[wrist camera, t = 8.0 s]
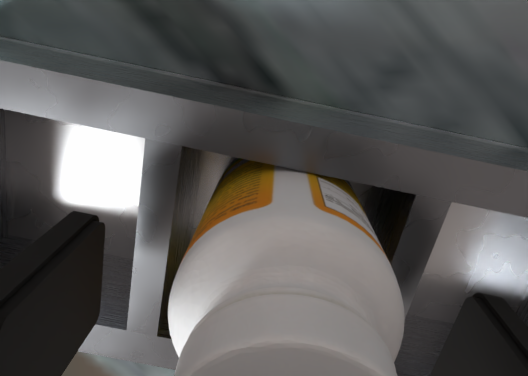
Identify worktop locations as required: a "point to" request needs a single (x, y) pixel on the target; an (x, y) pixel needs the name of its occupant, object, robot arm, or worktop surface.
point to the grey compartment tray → (212, 168)
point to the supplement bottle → (284, 281)
